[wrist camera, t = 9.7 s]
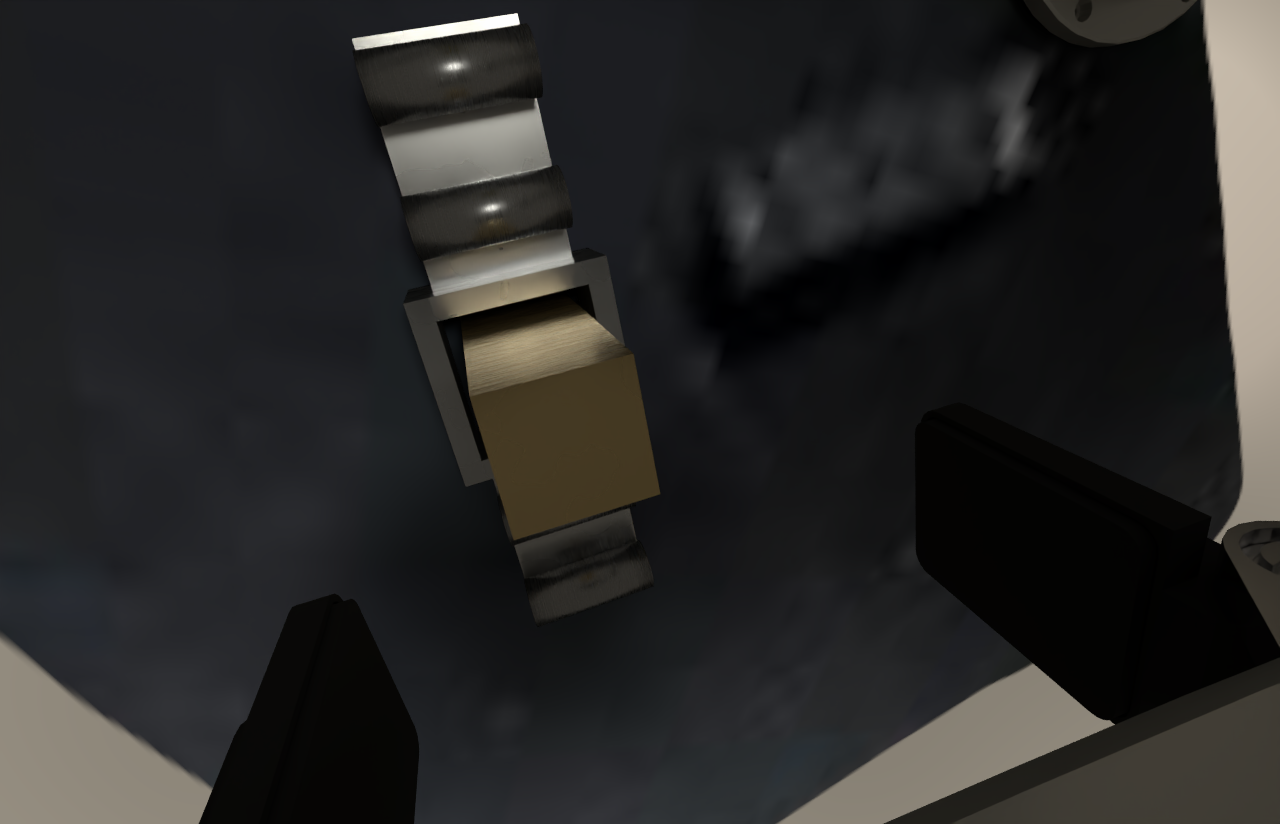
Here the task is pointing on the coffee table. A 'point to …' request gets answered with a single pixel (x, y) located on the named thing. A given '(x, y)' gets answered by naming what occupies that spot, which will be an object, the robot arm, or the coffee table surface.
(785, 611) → the coffee table surface
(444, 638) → the coffee table surface
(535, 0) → the coffee table surface
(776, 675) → the coffee table surface
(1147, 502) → the robot arm
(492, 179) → the grey segmented bar
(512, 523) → the brown rectangular block
